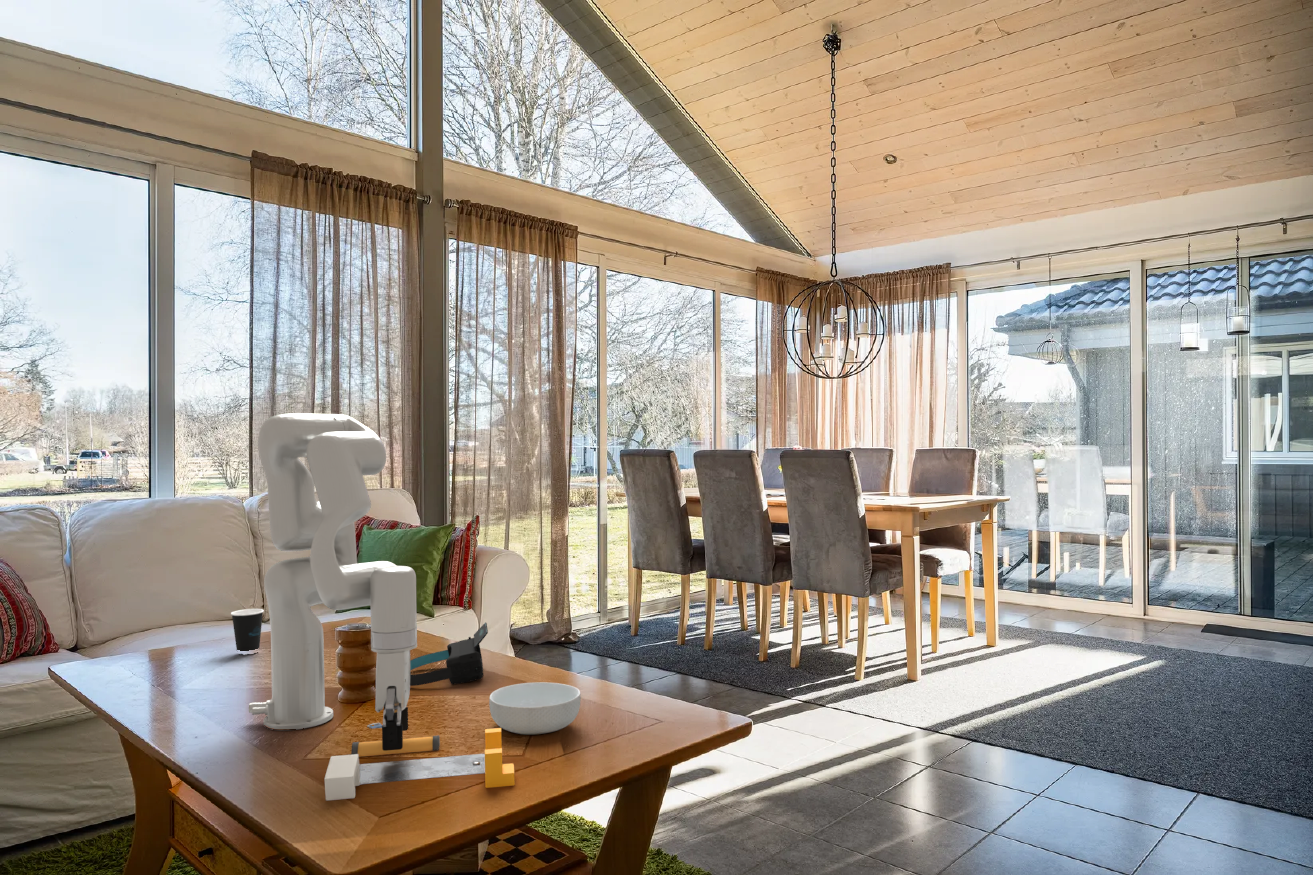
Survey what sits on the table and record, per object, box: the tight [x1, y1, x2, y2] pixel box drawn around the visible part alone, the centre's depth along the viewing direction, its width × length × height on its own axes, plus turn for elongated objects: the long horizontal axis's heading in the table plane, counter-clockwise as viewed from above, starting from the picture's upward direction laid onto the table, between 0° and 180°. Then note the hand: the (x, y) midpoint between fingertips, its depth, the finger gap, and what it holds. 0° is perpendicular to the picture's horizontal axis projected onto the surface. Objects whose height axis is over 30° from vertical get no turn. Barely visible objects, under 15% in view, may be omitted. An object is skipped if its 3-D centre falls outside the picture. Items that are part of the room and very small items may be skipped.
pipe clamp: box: [484, 727, 516, 789], centre depth 139 cm, size 12×4×6 cm, turn 11°
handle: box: [350, 735, 441, 758], centre depth 150 cm, size 14×3×3 cm, turn 101°
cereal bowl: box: [488, 681, 582, 735], centre depth 162 cm, size 17×17×7 cm
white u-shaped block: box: [323, 754, 361, 801], centre depth 132 cm, size 4×6×5 cm
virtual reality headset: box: [410, 622, 489, 687], centre depth 203 cm, size 19×22×10 cm
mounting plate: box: [359, 753, 485, 785], centre depth 141 cm, size 22×9×1 cm, turn 101°
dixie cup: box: [230, 608, 265, 651], centre depth 232 cm, size 8×8×11 cm
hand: (395, 739), depth 150 cm, fingers open, 9 cm apart
